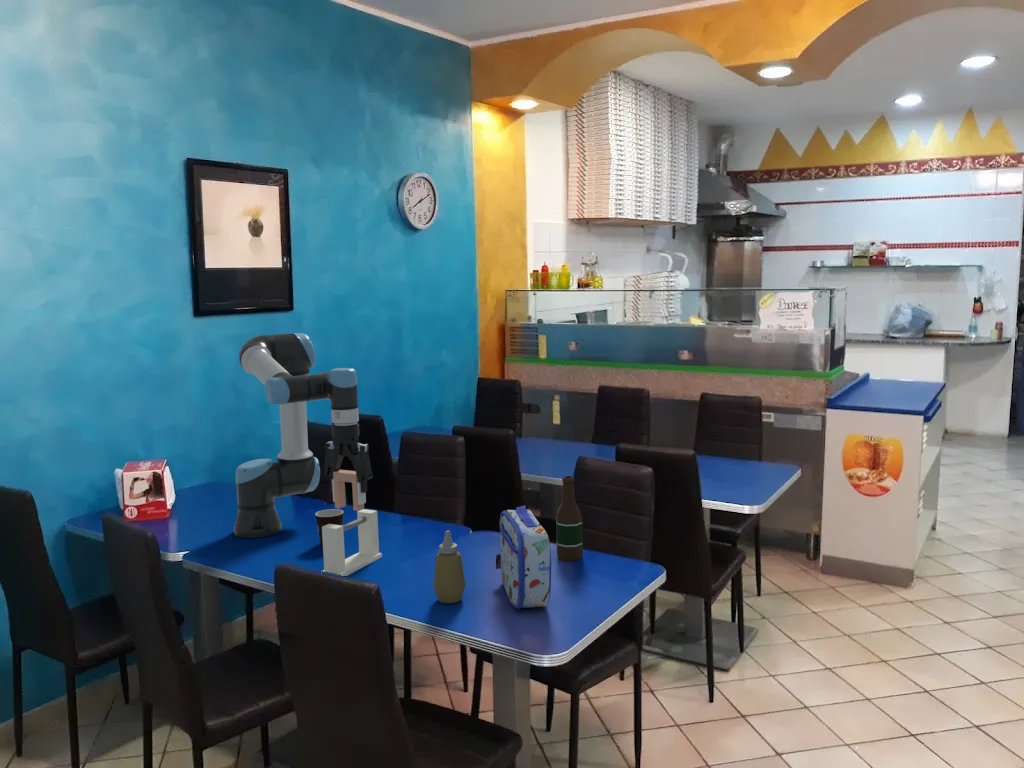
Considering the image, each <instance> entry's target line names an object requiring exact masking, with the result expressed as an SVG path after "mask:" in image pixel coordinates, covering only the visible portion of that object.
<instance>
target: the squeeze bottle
mask: <svg viewBox="0 0 1024 768" xmlns="http://www.w3.org/2000/svg"><path fill="white" fill-rule="evenodd" d="M462 557H463V556H462V553H460V552H459V551H458V544H457V543H455V542H453V538H452V534H451V530H445V532H444V536H443V542H442V543H441V544H439V545H438V553H437V554H436V555H435V557H434V558H435V560H434V561H435V562H434V577H433V588H434V589H433V590H434V591H435V594H436V598H437V599H438V601H439V602H440V603H443V604H455V603H458V602H459V601H460V602H461V600H462V598H463V595H464V592H465V588H466V578H465V573H464V565H463V558H462Z"/></svg>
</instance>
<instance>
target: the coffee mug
mask: <svg viewBox="0 0 1024 768" xmlns="http://www.w3.org/2000/svg"><path fill="white" fill-rule="evenodd" d="M314 513H315V514H314V515H315V520H316V527H317V533H318V538H319V544H320V547H322V548H323V538H322V527H323V526H325V525H327V524H334V525H341V526H343V525H344V510H342V509H340V508H329V509H323V510H319V511H316V512H314Z"/></svg>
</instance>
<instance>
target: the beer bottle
mask: <svg viewBox="0 0 1024 768" xmlns="http://www.w3.org/2000/svg"><path fill="white" fill-rule="evenodd" d="M561 480H562V497H561V498H562V499H561V504H560V506H559V507H558V508H557V512H556V517H555V522H556V523H555V525H556V526H555V530H556V533H555V534H556V555H557V559H558V560H559V561H562V562H565V563H567V562H568V563H571V562H579V561H580V560H582V559H583V555H584V554H583V553H584V551H583V550H584V549H583V548H584V547H583V546H584V545H583V540H584V539H583V516H582V513H581V511H580V508H579V506H578V505H577V503H576V495H575V477H574V476H573V475H572V476H571V475H566V476H565V475H564V476H562V477H561Z"/></svg>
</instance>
